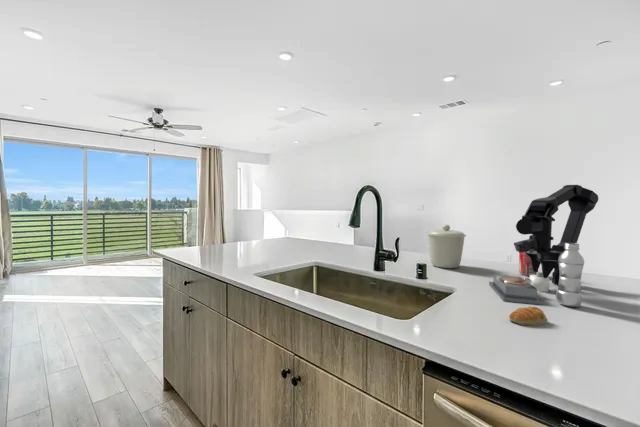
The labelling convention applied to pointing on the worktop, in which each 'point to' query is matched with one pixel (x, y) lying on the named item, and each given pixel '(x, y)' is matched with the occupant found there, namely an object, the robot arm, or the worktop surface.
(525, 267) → the soda can
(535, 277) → the white rounded piece
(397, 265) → the worktop surface
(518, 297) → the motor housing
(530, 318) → the pastry
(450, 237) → the canister
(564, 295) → the plastic bottle
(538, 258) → the robot arm
